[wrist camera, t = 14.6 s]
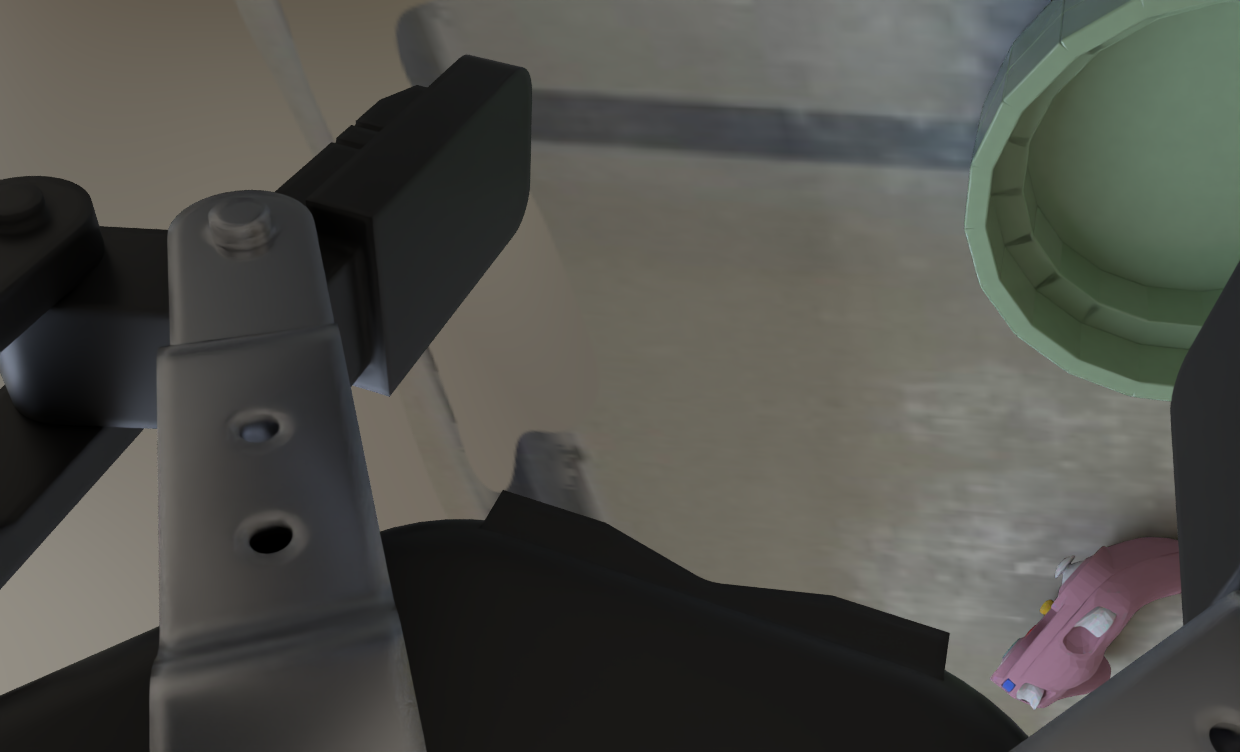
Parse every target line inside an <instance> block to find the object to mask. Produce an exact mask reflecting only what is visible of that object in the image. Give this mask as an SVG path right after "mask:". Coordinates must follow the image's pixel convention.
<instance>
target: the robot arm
mask: <svg viewBox="0 0 1240 752" xmlns="http://www.w3.org/2000/svg"><path fill="white" fill-rule="evenodd" d="M531 115H532V84H531V78H530V75H529V72H528V71H527V69H525V68H523V67H519V66H514V65H510V64H506V63H501V62H497V61H493V60H489V59H484V58H480V57H476V56H472V55H464V56H462V57H460V58H459V59H458V60H457V61H456V62H455V63H454V64H453V65H451V66H450V67H449V68H448V69H447V70H446V71H445V72H444V73H443V74H442V75H441V76H440V77H438V78H437V79H436V80H435V81H434V82H433V83H432V84H431V85H430V86H429V87H428V88H427V87H423V86H419V85H416V86H413V87H411V88H408V89H406V90H404V91H401V92H398V93H396V94H393V95H391V96H389V97H386V98H383V99H381V100H379V101H378V102H377V103H376V104H375V105H374V106H372V107H371V108H370V109H369V110H368V111H367V112H366V113H365V114H363V115H362V116H361V117H360V118H359V119H358V120H356V125H355V126H353V125H351V126H350V127H348V128H347V129H346V130H345V131H344V132H343V133H342V134H340V135H339V136H338V137H337V138H336V143H332V142H331V143H330V144H329V145H328V146H327V147H326V148H324V149H323V150H322V151H321V152H320V153H319V154H318V155H316V156H315V157H314V158H313V159H312V160H311V161H310V162H309V163H307V164H306V165H305V166H304V167H303V168H302V169H300V170H299V171H298V172H297V173H296V174H295V175H294V176H292V177H291V178H290V179H289V180H288V181H287V182H286V183H285V184H283V185H282V186H281V187H280V188H279V189H278V190H276V191H275V192H270V191H261V190H244V191H243V190H242V191H234V192H226V193H222V194H218V195H214V196H211V197H208V198H205V199H202V200H200V201H198V202H196V203H194V204H192V205H190V206H189V207H187V208H186V209H184V210H183V211H182V212H181V213H179V214H178V215H177V216H176V218H175V219H174V220H173V221H172V222H171V225H170V227H169V229H168V230H160V229H140V228H122V227H121V228H120V227H104V226H99V224H98V220H97V217H96V214H95V210H94V207H93V204H92V201H91V198H90V196H89V194H88V193H87V192H86V191H85V190H84V189H83V188H82V187H80V186H79V185H77V184H75V183H73V182H70V181H67V180H64V179H60V178H54V177H46V176H24V177H14V178H8V179H3V180H0V373H1V376H2V378H3V381H4V383H5V385H4V386H3V387H2V388H1V389H0V589H1V588H2V587H3V586H4V585H5V584H6V582H7V581H8V580H9V579H10V578H11V577H12V576H13V575H14V574H15V572H16V571H17V570H18V569H19V568H20V567H21V566H22V565H23V564H24V562H25V561H26V560H27V559H28V558H29V557H30V555H32V553H33V552H34V551H35V550H36V549H37V548H38V547H39V546H40V545H41V543H42V542H43V541H44V540H45V539H46V538H47V536H48V535H49V534H50V533H51V532H52V531H53V530H54V529H55V528H56V526H57V525H58V524H59V523H60V522H61V521H62V520H63V519H64V518H65V516H66V515H67V514H68V513H69V512H70V511H71V510H72V509H73V507H74V506H75V505H76V504H77V503H78V502H79V501H80V500H81V498H82V497H83V496H84V495H85V494H86V493H87V492H88V491H89V490H90V488H91V487H92V486H93V485H94V484H95V483H96V482H97V481H98V480H99V479H100V477H101V476H102V475H103V474H104V473H105V472H106V471H107V470H108V468H109V467H110V466H111V465H112V464H113V463H114V462H115V461H116V459H117V458H118V457H119V456H120V455H121V454H122V453H123V451H124V450H125V449H126V448H127V447H128V446H129V445H130V444H131V443H132V442H133V441H134V439H135V438H136V437H137V436H138V435H139V434H140V433H141V431H142V430H143V429H144V428H153V429H157V439H158V440H157V445H158V447H157V449H158V528H159V530H158V534H159V619H160V620H159V621H160V626H159V627H156V628H154V629H152V630H150V631H147V632H145V633H143V634H140V635H138V636H136V637H133V638H131V639H129V640H126V641H124V642H122V643H120V644H117V645H115V646H113V647H110V648H108V649H106V650H104V651H101V652H99V653H97V654H94V655H92V656H90V657H87V658H85V659H83V660H81V661H78V662H76V663H74V664H71V665H69V666H67V667H65V668H62V669H60V670H58V671H55V672H53V673H51V674H49V675H46V676H44V677H42V678H39V679H37V680H35V681H32V682H30V683H28V684H26V685H23V686H21V687H19V688H16V689H14V690H12V691H10V692H7V693H5V694H3V695H0V752H1240V261H1239V263H1238V264H1237V266H1236V268H1235V270H1234V271H1233V273H1232V275H1231V277H1230V278H1229V280H1228V282H1227V284H1226V285H1225V287H1224V289H1223V291H1222V292H1221V294H1220V296H1219V298H1218V300H1217V301H1216V303H1215V305H1214V307H1213V308H1212V310H1211V312H1210V314H1209V315H1208V317H1207V319H1206V321H1205V322H1204V324H1203V326H1202V328H1201V330H1200V331H1199V333H1198V335H1197V337H1196V338H1195V340H1194V342H1193V344H1192V345H1191V347H1190V349H1189V351H1188V352H1187V354H1186V356H1185V358H1184V360H1183V363H1182V365H1181V367H1180V370H1179V372H1178V375H1177V378H1176V381H1175V385H1174V389H1173V393H1172V399H1171V408H1170V414H1171V431H1172V447H1173V463H1174V480H1175V496H1176V513H1177V529H1178V546H1179V562H1180V579H1181V595H1182V611H1183V626H1182V627H1181V628H1180V629H1178V630H1177V631H1176V632H1174V633H1173V634H1171V635H1170V636H1169V637H1167V638H1166V639H1164V640H1163V641H1162V642H1160V643H1159V644H1158V645H1156V646H1155V647H1153V648H1152V649H1151V650H1149V651H1148V652H1146V653H1145V654H1144V655H1142V656H1141V657H1139V658H1138V659H1137V660H1135V661H1134V662H1133V663H1131V664H1130V665H1128V666H1127V667H1126V668H1124V669H1123V670H1121V671H1120V672H1119V673H1117V674H1116V675H1114V676H1113V677H1112V678H1110V679H1109V680H1108V681H1106V682H1105V683H1103V684H1102V685H1101V686H1099V687H1098V688H1096V689H1095V690H1094V691H1092V692H1091V693H1089V694H1088V695H1087V696H1085V697H1084V698H1083V699H1081V700H1080V701H1078V702H1077V703H1076V704H1074V705H1073V706H1071V707H1070V708H1069V709H1067V710H1066V711H1065V712H1063V713H1062V714H1060V715H1059V716H1058V717H1056V718H1055V719H1053V720H1052V721H1051V722H1049V723H1048V724H1046V725H1045V726H1044V727H1042V728H1041V729H1040V730H1038V731H1037V732H1035V733H1034V734H1033V735H1031V736H1030V737H1028V736H1027V735H1026V734H1025V732H1024V731H1023V730H1022V729H1021V728H1020V727H1019V726H1018V725H1017V724H1016V723H1015V722H1014V721H1013V720H1012V719H1011V718H1010V717H1009V716H1007V715H1006V714H1005V713H1004V712H1003V711H1002V710H1001V709H999V708H998V707H997V706H996V705H995V704H994V703H992V702H991V701H990V700H989V699H988V698H986V697H985V696H984V695H982V694H981V693H979V692H978V691H976V690H975V689H974V688H972V687H971V686H969V685H968V684H967V683H965V682H964V681H962V680H961V679H959V678H957V677H956V676H954V675H952V674H951V673H949V672H947V671H946V670H945V663H946V656H947V649H948V642H949V634H950V633H948V632H945V631H942V630H939V629H936V628H932V627H929V626H926V625H923V624H920V623H917V622H914V621H911V620H907V619H904V618H901V617H898V616H895V615H892V614H889V613H886V612H882V611H879V610H876V609H873V608H870V607H867V606H864V605H861V604H857V603H854V602H851V601H848V600H845V599H842V598H839V597H836V596H832V595H823V594H814V593H804V592H795V591H785V590H776V589H767V588H757V587H748V586H739V585H729V584H720V583H715V582H711V581H708V580H705V579H703V578H700V577H698V576H696V575H695V574H693V573H691V572H690V571H688V570H686V569H684V568H683V567H681V566H679V565H677V564H676V563H674V562H672V561H671V560H669V559H667V558H665V557H664V556H662V555H660V554H659V553H657V552H655V551H653V550H652V549H650V548H648V547H646V546H645V545H643V544H641V543H640V542H638V541H636V540H634V539H633V538H631V537H629V536H627V535H626V534H624V533H622V532H621V531H619V530H617V529H615V528H614V527H612V526H610V525H609V524H607V523H605V522H602V521H598V520H595V519H592V518H589V517H586V516H583V515H580V514H577V513H573V512H570V511H567V510H564V509H561V508H558V507H555V506H552V505H548V504H545V503H542V502H539V501H536V500H533V499H530V498H527V497H523V496H520V495H517V494H514V493H511V492H508V491H505V490H503V491H502V492H501V494H500V496H499V497H498V499H497V501H496V502H495V504H494V506H493V507H492V509H491V511H490V513H489V514H488V516H487V518H486V519H485V520H473V519H445V520H436V521H426V522H418V523H413V524H408V525H404V526H399V527H394V528H390V529H387V530H384V531H381V532H380V531H379V525H378V521H377V515H376V511H375V505H374V501H373V496H372V491H371V486H370V481H369V476H368V471H367V466H366V461H365V456H364V451H363V446H362V441H361V436H360V431H359V426H358V421H357V416H356V411H355V406H354V401H353V396H352V391H351V386H352V385H354V386H357V387H360V388H363V389H367V390H370V391H373V392H376V393H379V394H383V395H386V396H389V397H390V395H391V394H392V393H393V391H394V390H395V389H396V388H397V386H398V385H399V384H400V382H401V381H402V380H403V378H404V377H405V376H406V375H407V373H408V372H409V371H410V369H411V368H412V367H413V366H414V364H415V363H416V362H417V360H418V359H419V358H420V356H421V355H422V354H423V353H424V351H425V350H426V349H427V347H428V346H429V345H430V343H431V342H432V341H433V340H434V338H435V337H436V336H437V334H438V333H439V332H440V331H441V329H442V328H443V327H444V325H445V324H446V323H447V321H448V320H449V319H450V318H451V316H452V315H453V314H454V312H455V311H456V310H457V308H458V307H459V306H460V304H461V303H462V302H463V301H464V299H465V298H466V297H467V295H468V294H469V293H470V291H471V290H472V289H473V288H474V286H475V285H476V284H477V283H478V281H479V280H480V279H481V277H482V276H483V275H484V273H485V272H486V271H487V270H488V268H489V267H490V266H491V264H492V263H493V262H494V260H495V259H496V258H497V257H498V255H499V254H500V253H501V251H502V250H503V249H504V247H505V246H506V245H507V244H508V242H509V241H510V240H511V238H512V237H513V236H514V234H515V233H516V231H517V230H518V228H519V226H520V224H521V221H522V219H523V216H524V213H525V210H526V206H527V202H528V197H529V190H530V163H531Z"/></svg>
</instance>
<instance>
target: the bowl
mask: <svg viewBox="0 0 1240 752" xmlns="http://www.w3.org/2000/svg"><path fill="white" fill-rule="evenodd" d="M964 227H965V228H964V231H965V234H966V238H967V241H968V245H969V249H970V252H971V256H972V260H973V263H974V267H975V271H976V274H977V278H978V282H979V284H980V287H981V288H982V290H983V291H984V293H985V294H986V295H987V297H988V298H989V299H990V301H991V302H992V304H993V305H994V306H995V308H996V309H997V310H998V312H999V313H1000V315H1001V316H1002V317H1003V319H1004V320H1005V322H1006V323H1007V324H1008V326H1009V327H1010V328H1011V330H1012V331H1013V333H1014V334H1016V336H1017V337H1019V338H1020V339H1022V340H1023V341H1024V342H1026V343H1027V344H1029V345H1030V346H1031V347H1033V348H1034V349H1035V350H1037V351H1038V352H1040V353H1041V354H1042V355H1044V356H1045V357H1046V358H1048V359H1049V360H1051V361H1052V362H1053V363H1055V364H1056V365H1057V366H1059V367H1060V368H1062V369H1063V370H1064V371H1066V372H1068V373H1069V374H1072V375H1074V376H1077V377H1080V378H1082V379H1085V380H1088V381H1090V382H1093V383H1096V384H1098V385H1101V386H1104V387H1106V388H1109V389H1112V390H1114V391H1117V392H1120V393H1122V394H1125V395H1128V396H1130V397H1131V396H1133V397H1138V398H1146V399H1154V400H1162V401H1170V402H1171V399H1172V393H1173V389H1174V385H1175V381H1176V378H1177V375H1178V372H1179V370H1180V367H1181V365H1182V363H1183V360H1184V358H1185V356H1186V354H1187V352H1188V351H1189V349H1190V347H1191V345H1192V344H1193V342H1194V340H1195V338H1196V337H1197V335H1198V333H1199V331H1200V330H1201V328H1202V326H1203V324H1204V322H1205V321H1206V319H1207V317H1208V315H1209V314H1210V312H1211V310H1212V308H1213V307H1214V305H1215V303H1216V301H1217V300H1218V298H1219V296H1220V294H1221V292H1222V291H1223V289H1224V287H1225V285H1226V284H1227V282H1228V280H1229V278H1230V277H1231V275H1232V273H1233V271H1234V270H1235V268H1236V266H1237V264H1238V263H1239V261H1240V0H1053V1H1052V2H1051V3H1050V4H1049V5H1048V6H1047V7H1046V8H1045V9H1044V10H1043V11H1042V12H1041V13H1040V15H1039V16H1038V17H1037V18H1036V19H1035V20H1034V21H1033V22H1032V23H1031V24H1030V25H1029V26H1028V27H1027V29H1026V30H1025V31H1024V32H1023V33H1022V34H1021V35H1020V36H1019V37H1018V38H1017V39H1016V40H1015V41H1014V42H1013V45H1012V46H1011V48H1010V50H1009V52H1008V54H1007V56H1006V58H1005V60H1004V62H1003V64H1002V66H1001V69H1000V71H999V73H998V75H997V77H996V79H995V81H994V83H993V85H992V87H991V89H990V91H989V94H988V96H987V98H986V100H985V102H984V105H983V107H982V112H981V117H980V122H979V127H978V131H977V137H976V141H975V146H974V151H973V156H972V160H971V165H970V173H969V183H968V192H967V201H966V211H965V220H964Z"/></svg>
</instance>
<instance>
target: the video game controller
mask: <svg viewBox="0 0 1240 752" xmlns="http://www.w3.org/2000/svg"><path fill="white" fill-rule="evenodd" d="M1074 558H1075V556H1070V557H1068V558H1065V559H1064V560H1063V561H1062V562H1061V563H1060V564H1059V565H1058V566H1057V568H1056V572H1055V578H1057V577H1058V576H1059V575H1060V574H1062V573H1063V574H1064V575H1063V580H1062V586H1061V587H1060V589H1059V594H1058V597H1057V599H1056V600H1055V601H1054V602H1053V601H1052V600H1048V601H1046V602H1045V603H1044V604H1043V605H1042V607H1041V609H1040V612H1041V613H1042V614H1043V615H1045V616H1044V617H1043V618H1042V619H1041V620H1040V621H1039V622H1038V624H1037V625H1034V627H1033V628H1032V629H1031V630H1030V631H1029V632H1028V633H1027V635H1026V636H1025V637H1023V638H1021V639H1020V638H1019V639H1018V640H1017V641H1016V642H1015V643H1014V644H1013V645H1012V646H1011V648H1010V649H1009V650H1008V651H1007V652H1006V653H1005V655H1004V656H1003V660H1002V663H1001V664H1000V666H999V667H998V669H997V670H996V671H995V672H994V674H993V675H992V677H991V678H990V679H991V680H992V681H993V682H994V683H996V684H997V685H998V686H1000V687H1001V688H1002V689H1003V690H1005V691H1006V692H1007V693H1008V694H1009V695H1010V696H1012V697H1013V698H1015V699H1018V700H1020V701H1022V702H1025V703H1027V704H1029V705H1031V706H1032V708H1033V709H1034V710H1035V709H1036V708H1045V707H1047V706H1049V705H1050V704H1052V703H1053V702H1055V701H1057V700H1060V699H1063V698H1067V697H1072V696H1076V695H1083V694H1087V693H1090V692H1092V691H1094V690H1095V689H1096V688H1098V687H1099V686H1101V685H1102V684H1103V683H1105V682H1106V681H1108V680H1109V679H1110V675H1111V667H1110V664H1109V662H1108V660H1107V659H1106V658H1105V656H1104V653H1105V650H1106V648H1107V647H1108V646H1109V645H1110V644H1111V642H1112V641H1113V640H1114V639H1115V638H1116V637H1117V636H1118V635H1119V633H1120V632H1121V631H1122V630H1123V628H1124V627H1125V626H1126V624H1127V623H1128V621H1129V620H1130V619H1131V617H1132V616H1133V614H1134V613H1135V612H1137V611H1138V610H1139V609H1140V608H1141V607H1142V606H1144V605H1146V604H1148V603H1150V602H1152V601H1154V600H1157V599H1160V598H1163V597H1167V596H1171V595H1175V594H1179V593H1181V579H1180V562H1179V546H1178V540H1175V539H1170V538H1161V537H1144V538H1137V539H1133V540H1129V541H1125V542H1121V543H1118V544H1115V545H1112V546H1109V547H1105V546H1102V547H1101V548H1100V549H1099V550H1098V551H1097V552H1096V553H1095V554H1094V555H1093V556H1091V557H1088V558H1086V559H1085V560H1084V561H1079V562H1076V563H1074V564H1071V562H1072V561H1073V559H1074Z"/></svg>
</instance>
